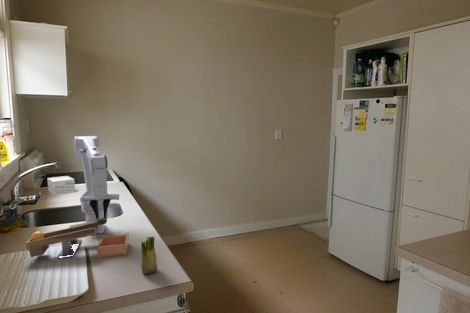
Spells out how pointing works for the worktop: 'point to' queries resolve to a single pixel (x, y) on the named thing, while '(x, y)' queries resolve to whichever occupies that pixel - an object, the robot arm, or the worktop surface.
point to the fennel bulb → (148, 256)
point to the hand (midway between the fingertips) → (101, 217)
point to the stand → (69, 247)
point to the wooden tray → (63, 236)
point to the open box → (113, 246)
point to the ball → (37, 235)
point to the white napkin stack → (61, 185)
